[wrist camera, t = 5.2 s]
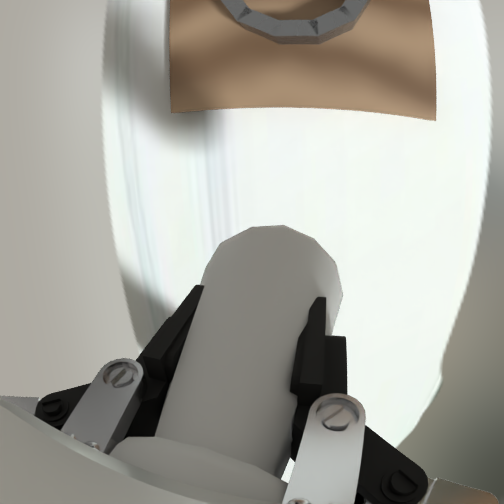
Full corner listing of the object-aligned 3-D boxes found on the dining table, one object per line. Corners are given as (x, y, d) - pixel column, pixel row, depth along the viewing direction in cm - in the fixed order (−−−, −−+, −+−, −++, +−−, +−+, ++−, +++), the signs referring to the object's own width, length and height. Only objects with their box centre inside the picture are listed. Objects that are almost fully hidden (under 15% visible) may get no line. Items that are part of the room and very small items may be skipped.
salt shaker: (204, 227, 15) (-10, 451, 3) (322, 195, 13) (278, 575, 1) (245, 326, 17) (144, 558, 5) (350, 307, 15) (342, 592, 3)
